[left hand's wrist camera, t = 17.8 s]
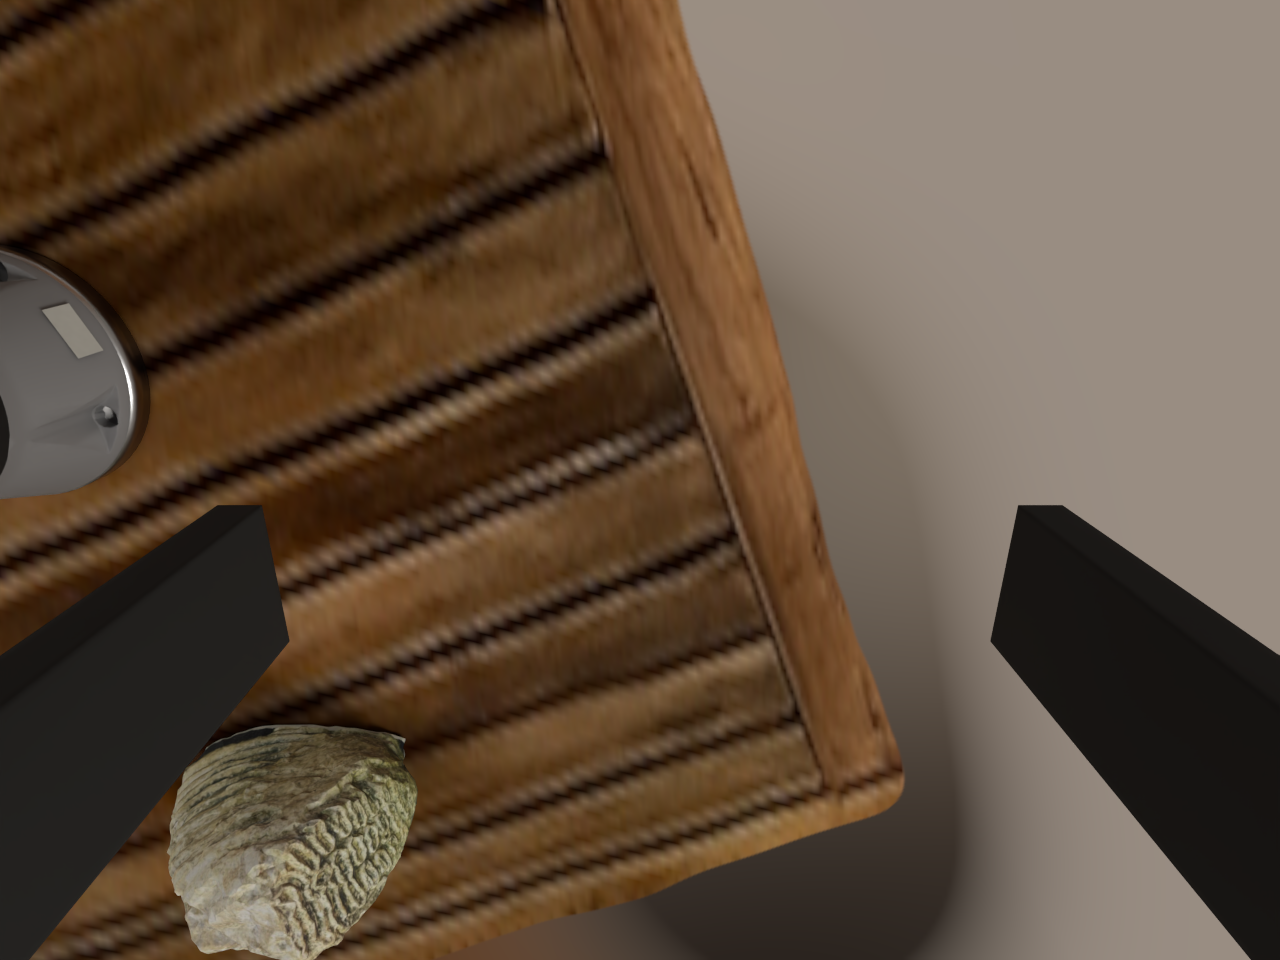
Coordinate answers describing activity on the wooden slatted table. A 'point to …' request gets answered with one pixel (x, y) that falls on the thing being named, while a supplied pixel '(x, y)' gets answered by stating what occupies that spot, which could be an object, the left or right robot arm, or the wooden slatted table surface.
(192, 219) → the wooden slatted table surface
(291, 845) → the fossil
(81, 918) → the wooden slatted table surface
